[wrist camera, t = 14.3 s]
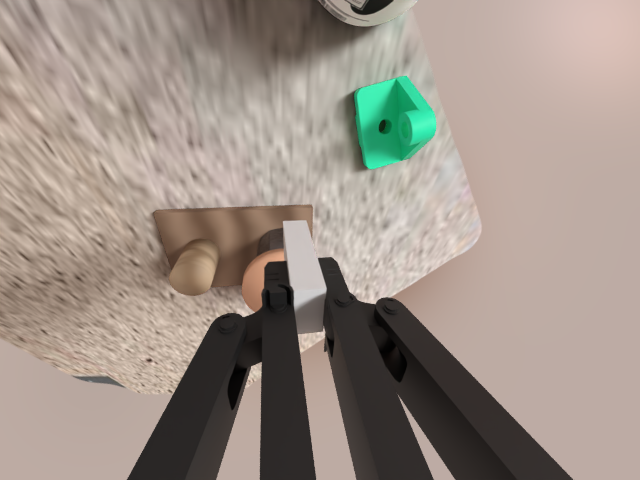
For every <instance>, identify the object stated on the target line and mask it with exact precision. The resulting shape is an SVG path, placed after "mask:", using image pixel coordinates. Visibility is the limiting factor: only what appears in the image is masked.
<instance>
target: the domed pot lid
mask: <svg viewBox="0 0 640 480" xmlns="http://www.w3.org/2000/svg"><path fill="white" fill-rule="evenodd" d="M273 261H284V249H274V250H270V251H267V252H265V253H263V254H261V255H259V256H258V257H256V258H255V259H254V260H253V261H252V262H251V263H250V264H249V265H248V267H247V268H246V270H245V273H244V276H243V283H242V295H243V299H244V301H245V303H246V304H247V305H248V307H249V308H250V309H252V310H253V311H254V312H257V311H258V310H259V309H260V308H261V307H262V297H261V293H262V290H263V289H264V267H265V266H266V264H267V263H268V262H273Z"/></svg>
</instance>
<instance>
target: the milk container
mask: <svg viewBox="0 0 640 480" xmlns="http://www.w3.org/2000/svg"><path fill="white" fill-rule="evenodd" d="M318 1H319V3H320V4H321V5H322V6H323V7H324V8H325V9H326V10H327V11H328V12H329V13H330V14H331V15H333V16H334V17H336V18H337V19H339V20H341V21H343V22H345V23H348V24H351V25H356V26H375V25H379V24H383V23H386V22H388V21H391V20H393V19H395V18H396V17H398V16H400V15H401V14H403V13H404V12H406V11H407V10H408V9H409V8H411V7H412V6H413V5H414V4H415V3H416V2H417V1H418V0H318Z"/></svg>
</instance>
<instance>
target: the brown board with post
mask: <svg viewBox="0 0 640 480" xmlns="http://www.w3.org/2000/svg"><path fill="white" fill-rule="evenodd" d="M153 214H154V217H155V220H156V223H157V226H158V229H159V233H160V236H161V239H162V242H163V245H164V248H165V251H166V254H167V258H168V261H169V264H170V267H171V270H172V271H171V273H170V275H169V282H170V284H171V286H172V287H173V288H174V289H175V290H176V291H178V292H179V293H181V294H184V295H190V296H195V295H200V294H203V293H205V292H206V291H207V290H208V289H209V288H210V287H220V286H232V285H242V283H243V276H244V273H245V270H246V268H247V267H248V265H249V264H250V263H251V262H252V261H253V260H254V259H255V258H256V257H257V247H258V244H259V241H260V238H261V237H262V236H263V235H264V234H266V233H267V232H268V231H269V230H273V229H278V228H283V221H298V220H306V221H307V224H308V228H309V231H310V234H311V238H312V223H313V207H312V205H285V206H256V207H227V208H198V209H169V210H156V211H155V212H154V213H153Z"/></svg>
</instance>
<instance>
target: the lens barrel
mask: <svg viewBox="0 0 640 480" xmlns="http://www.w3.org/2000/svg"><path fill="white" fill-rule="evenodd" d="M274 249H284V241H283V228H278V229H273V230H269V231H268V232H267V233H266V234H264V235H263V236H262V237H261V238H260V241H259V244H258V247H257V257H258V256H259V255H261V254H263V253H265V252H267V251H270V250H274Z"/></svg>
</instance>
